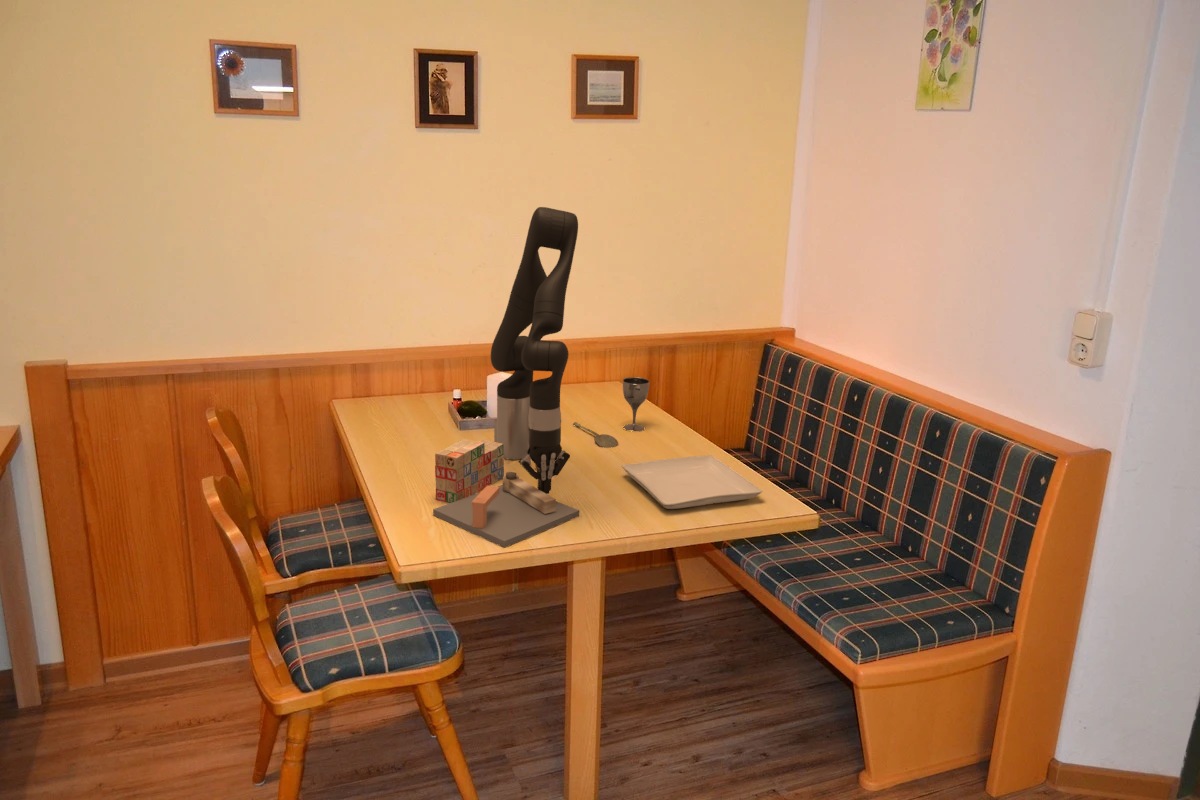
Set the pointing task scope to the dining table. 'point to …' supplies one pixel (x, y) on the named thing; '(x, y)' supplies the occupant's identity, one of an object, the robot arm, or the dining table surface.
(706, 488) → the square plate
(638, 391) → the wine glass
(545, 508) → the arm link
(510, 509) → the board
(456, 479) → the stack of blocks
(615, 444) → the soupspoon
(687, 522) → the dining table surface
